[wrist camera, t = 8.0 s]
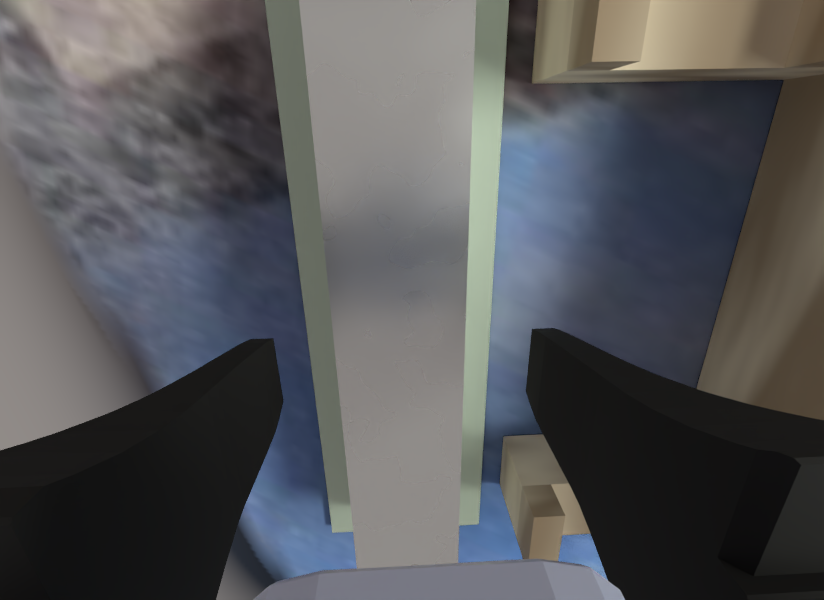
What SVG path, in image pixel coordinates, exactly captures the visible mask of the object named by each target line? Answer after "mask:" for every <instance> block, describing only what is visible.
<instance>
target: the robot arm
mask: <svg viewBox="0 0 824 600" xmlns="http://www.w3.org/2000/svg"><path fill="white" fill-rule="evenodd" d="M526 393H527V396H528V399H529V402H530V405H531V408H532V411H533V413H534V416H535V419H536V421H537V423H538V425H539V427H540V429H541V431H542V433H543V435H544V437H545V439H546V441H547V443H548V445H549V447H550V449H551V451H552V452H553V454H554V456H555V458H556V460H557V462H558V464H559V466H560V468H561V470H562V472H563V473H564V475H565V477H566V479H567V481H568V483H569V485H570V487H571V489H572V491H573V493H574V495H575V497H576V499H577V501H578V503H579V506H580V508H581V511H582V513H583V516H584V518H585V521H586V523H587V526H588V528H589V531H590V533H591V536H592V538H593V541H594V543H595V546H596V549H597V552H598V554H599V557H600V560H601V562H602V565H603V568H604V570H605V573H606V576H607V579H608V580H606V579H605V578H604V577H602V576H601V575H600V574H598V573H597V572H595V571H594V570H593V569H591V568H590V567H587V566H584V565H581V564H574V563H567V562H559V561H552V560H545V559H522V560H504V561H486V562H468V563H450V564H432V565H413V566H395V567H377V568H359V569H341V570H323V571H318V572H314V573H310V574H306V575H302V576H298V577H294V578H289V579H285V580H281V581H278V582H276V583H274V584H272V585H270V586H269V587H267V588H266V589H265V590H264V591H263V592H261V593H260V594H259V595H258V596H257V597H255V598H254V599H253V600H824V420H820V419H814V418H809V417H805V416H800V415H795V414H790V413H786V412H781V411H776V410H772V409H768V408H763V407H759V406H755V405H751V404H747V403H743V402H740V401H736V400H732V399H729V398H725V397H722V396H718V395H714V394H711V393H708V392H705V391H701V390H698V389H695V388H692V387H689V386H686V385H684V384H681V383H678V382H675V381H672V380H669V379H667V378H664V377H661V376H659V375H656V374H654V373H651V372H649V371H647V370H644V369H642V368H640V367H637V366H635V365H633V364H630V363H628V362H626V361H624V360H621V359H619V358H617V357H615V356H613V355H611V354H609V353H607V352H605V351H602V350H600V349H598V348H596V347H594V346H592V345H590V344H588V343H586V342H584V341H582V340H580V339H578V338H576V337H574V336H572V335H570V334H567V333H565V332H563V331H560V330H558V329H555V328H546V329H532V335H531V345H530V355H529V365H528V375H527V385H526ZM282 405H283V396H282V390H281V383H280V377H279V371H278V365H277V359H276V353H275V346H274V340H273V338H271V339H250V340H248V341H246V342H243V343H242V344H240V345H238V346H236V347H234V348H232V349H231V350H229V351H227V352H226V353H224V354H222V355H221V356H219V357H217V358H215V359H214V360H212V361H210V362H209V363H207V364H205V365H204V366H202V367H200V368H199V369H197V370H195V371H193V372H192V373H190V374H188V375H186V376H184V377H182V378H180V379H179V380H177V381H175V382H173V383H171V384H169V385H168V386H166V387H164V388H162V389H160V390H158V391H156V392H154V393H152V394H150V395H148V396H146V397H144V398H142V399H140V400H138V401H135V402H133V403H131V404H129V405H126V406H124V407H122V408H120V409H118V410H115V411H113V412H110V413H108V414H105V415H103V416H100V417H98V418H95V419H92V420H90V421H87V422H84V423H82V424H79V425H76V426H74V427H71V428H68V429H66V430H63V431H60V432H58V433H55V434H52V435H49V436H46V437H43V438H40V439H37V440H33V441H30V442H27V443H24V444H21V445H17V446H14V447H11V448H7V449H4V450H1V451H0V600H216V597H217V593H218V590H219V586H220V583H221V579H222V575H223V572H224V568H225V565H226V561H227V558H228V555H229V552H230V548H231V545H232V542H233V538H234V535H235V532H236V528H237V525H238V522H239V520H240V517H241V514H242V511H243V509H244V506H245V504H246V501H247V499H248V497H249V494H250V492H251V489H252V487H253V485H254V482H255V480H256V478H257V475H258V473H259V471H260V468H261V466H262V464H263V461H264V459H265V456H266V454H267V452H268V449H269V447H270V444H271V442H272V439H273V437H274V434H275V432H276V428H277V424H278V421H279V417H280V413H281V409H282Z"/></svg>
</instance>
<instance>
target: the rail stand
mask: <svg viewBox="0 0 824 600" xmlns="http://www.w3.org/2000/svg"><path fill="white" fill-rule="evenodd" d="M736 80H784V81H783V85H782V88H781V92H780V95H779V99H778V103H777V106H776V110H775V113H774V117H773V120H772V124H771V127H770V131H769V134H768V138H767V141H766V145H765V148H764V152H763V155H762V159H761V162H760V166H759V170H758V173H757V177H756V180H755V184H754V187H753V191H752V194H751V198H750V201H749V205H748V208H747V212H746V215H745V219H744V222H743V226H742V229H741V233H740V236H739V240H738V244H737V247H736V251H735V254H734V258H733V261H732V265H731V268H730V272H729V275H728V279H727V282H726V286H725V289H724V293H723V296H722V300H721V303H720V307H719V311H718V314H717V318H716V321H715V325H714V328H713V332H712V335H711V339H710V342H709V346H708V349H707V353H706V356H705V360H704V363H703V367H702V370H701V374H700V378H699V381H698V385H697V388H696V389H698V390H701V391H705V392H708V393H711V394H714V395H718V396H722V397H725V398H729V399H732V400H736V401H740V402H743V403H747V404H751V405H755V406H759V407H763V408H768V409H772V410H776V411H781V412H786V413H790V414H795V415H800V416H805V417H809V418H814V419H820V420H824V0H538V11H537V24H536V36H535V49H534V61H533V74H532V84H544V83H608V82H672V81H736ZM500 487H501V490H502V493H503V496H504V500H505V503H506V506H507V509H508V512H509V515H510V519H511V522H512V525H513V528H514V531H515V535H516V538H517V541H518V544H519V547H520V550H521V554H522V557H523V559H545V560H552V561H558V557H559V551H560V545H561V539H562V535H574V534H591V533H590V531H589V528H588V526H587V523H586V521H585V518H584V516H583V513H582V511H581V508H580V506H579V503H578V501H577V499H576V497H575V495H574V493H573V491H572V489H571V487H570V485H569V483H568V481H567V479H566V477H565V475H564V473H563V472H562V470H561V468H560V466H559V464H558V462H557V460H556V458H555V456H554V454H553V452H552V451H551V449H550V447H549V445H548V443H547V441H546V439H545V437H544V435H543V434H540V435H519V436H503V448H502V460H501V473H500Z"/></svg>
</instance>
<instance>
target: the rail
mask: <svg viewBox="0 0 824 600" xmlns="http://www.w3.org/2000/svg"><path fill="white" fill-rule="evenodd" d="M299 6H300V16H301V25H302V35H303V45H304V55H305V65H306V74H307V84H308V94H309V104H310V114H311V123H312V133H313V143H314V153H315V163H316V172H317V182H318V192H319V202H320V211H321V221H322V231H323V241H324V251H325V260H326V270H327V280H328V290H329V300H330V309H331V319H332V329H333V339H334V349H335V358H336V368H337V378H338V388H339V397H340V407H341V417H342V427H343V437H344V446H345V456H346V466H347V476H348V486H349V495H350V505H351V515H352V525H353V535H354V544H355V554H356V564H357V569H359V568H377V567H395V566H413V565H432V564H450V563H458V546H459V515H460V484H461V453H462V422H463V391H464V360H465V329H466V299H467V268H468V237H469V206H470V175H471V144H472V113H473V82H474V51H475V20H476V0H299Z"/></svg>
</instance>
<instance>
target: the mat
mask: <svg viewBox="0 0 824 600" xmlns="http://www.w3.org/2000/svg"><path fill="white" fill-rule="evenodd" d="M265 7H266V15H267V23H268V31H269V39H270V47H271V54H272V62H273V70H274V78H275V86H276V94H277V101H278V109H279V117H280V125H281V133H282V141H283V148H284V156H285V164H286V172H287V180H288V188H289V195H290V203H291V211H292V219H293V227H294V235H295V243H296V250H297V258H298V266H299V274H300V282H301V290H302V297H303V305H304V313H305V321H306V329H307V337H308V344H309V352H310V360H311V368H312V376H313V384H314V391H315V399H316V407H317V415H318V423H319V431H320V438H321V446H322V454H323V462H324V470H325V478H326V485H327V493H328V501H329V509H330V517H331V525H332V533H336V532H353V525H352V515H351V505H350V495H349V486H348V476H347V466H346V456H345V446H344V437H343V427H342V417H341V407H340V397H339V388H338V378H337V368H336V358H335V349H334V339H333V329H332V319H331V309H330V300H329V290H328V280H327V270H326V260H325V251H324V241H323V231H322V221H321V211H320V202H319V192H318V182H317V172H316V163H315V153H314V143H313V133H312V123H311V114H310V104H309V94H308V84H307V74H306V65H305V55H304V45H303V35H302V25H301V16H300V6H299V0H265ZM508 10H509V0H476V20H475V51H474V82H473V113H472V144H471V175H470V206H469V237H468V268H467V299H466V329H465V360H464V391H463V422H462V453H461V484H460V515H459V525H474V524H479V511H480V493H481V476H482V459H483V442H484V424H485V407H486V390H487V373H488V355H489V338H490V321H491V304H492V286H493V269H494V252H495V235H496V217H497V200H498V183H499V166H500V148H501V131H502V114H503V97H504V79H505V62H506V45H507V27H508Z"/></svg>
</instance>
